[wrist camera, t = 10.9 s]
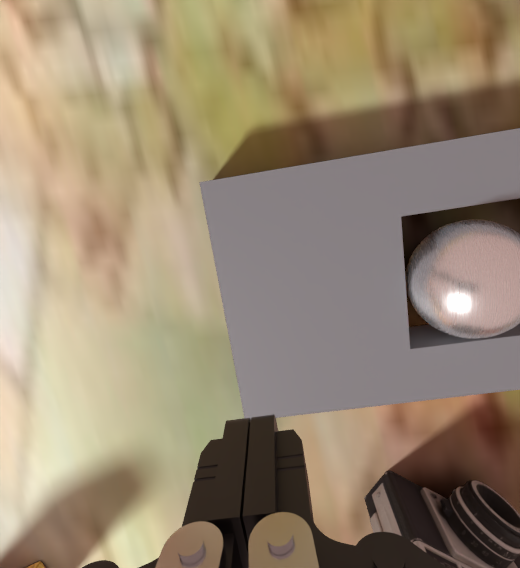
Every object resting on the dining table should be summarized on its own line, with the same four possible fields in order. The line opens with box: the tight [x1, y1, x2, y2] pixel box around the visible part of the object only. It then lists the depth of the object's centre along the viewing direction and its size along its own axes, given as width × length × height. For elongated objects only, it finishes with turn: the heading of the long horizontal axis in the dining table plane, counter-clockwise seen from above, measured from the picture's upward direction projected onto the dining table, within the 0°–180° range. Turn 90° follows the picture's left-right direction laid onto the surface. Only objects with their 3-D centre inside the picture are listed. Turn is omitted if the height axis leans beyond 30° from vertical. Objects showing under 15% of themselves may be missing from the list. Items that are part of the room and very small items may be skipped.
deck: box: [200, 128, 520, 419], centre depth 27 cm, size 18×26×4 cm
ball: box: [406, 219, 520, 338], centre depth 25 cm, size 8×8×8 cm
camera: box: [365, 471, 520, 568], centre depth 30 cm, size 14×9×10 cm, turn 53°
